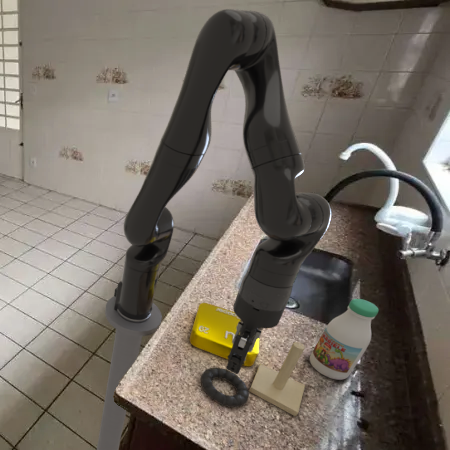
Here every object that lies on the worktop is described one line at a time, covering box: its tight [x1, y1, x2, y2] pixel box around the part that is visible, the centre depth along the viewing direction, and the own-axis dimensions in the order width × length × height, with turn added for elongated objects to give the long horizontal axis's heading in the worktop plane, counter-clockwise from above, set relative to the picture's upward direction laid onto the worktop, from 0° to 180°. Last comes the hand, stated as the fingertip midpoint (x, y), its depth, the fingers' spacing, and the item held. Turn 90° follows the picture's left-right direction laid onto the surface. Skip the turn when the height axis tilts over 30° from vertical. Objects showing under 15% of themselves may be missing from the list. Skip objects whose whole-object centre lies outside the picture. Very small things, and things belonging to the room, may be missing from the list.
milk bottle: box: [309, 298, 379, 381], centre depth 81 cm, size 8×8×20 cm
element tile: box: [189, 302, 260, 367], centre depth 93 cm, size 15×15×5 cm
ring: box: [200, 366, 250, 408], centre depth 80 cm, size 10×10×2 cm
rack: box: [248, 341, 306, 417], centre depth 77 cm, size 9×9×14 cm
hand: (238, 357), depth 72 cm, fingers open, 8 cm apart
